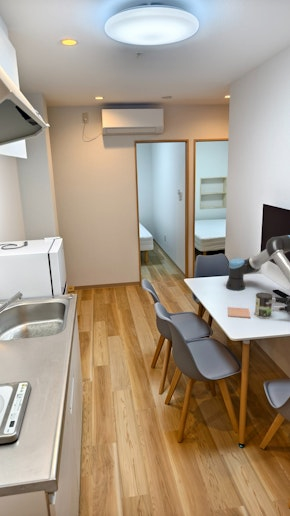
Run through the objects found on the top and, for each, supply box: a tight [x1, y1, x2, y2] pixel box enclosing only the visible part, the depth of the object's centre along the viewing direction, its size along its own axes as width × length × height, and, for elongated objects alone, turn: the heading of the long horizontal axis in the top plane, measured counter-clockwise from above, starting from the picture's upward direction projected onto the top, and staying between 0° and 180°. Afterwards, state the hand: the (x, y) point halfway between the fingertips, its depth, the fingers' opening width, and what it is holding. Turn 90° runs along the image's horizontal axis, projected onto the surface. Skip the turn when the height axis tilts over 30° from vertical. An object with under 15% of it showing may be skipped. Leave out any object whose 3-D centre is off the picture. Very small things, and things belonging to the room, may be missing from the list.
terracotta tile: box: [227, 306, 251, 319], centre depth 231 cm, size 14×14×1 cm
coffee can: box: [254, 292, 273, 319], centre depth 226 cm, size 10×10×14 cm
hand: (269, 304), depth 226 cm, fingers open, 13 cm apart
